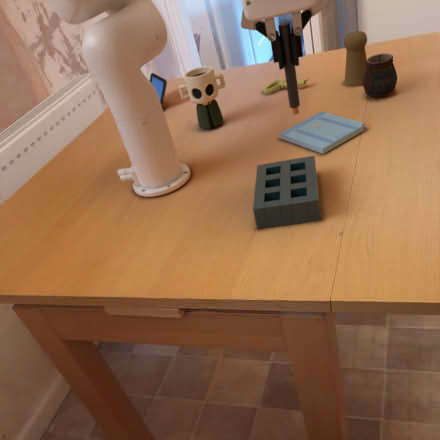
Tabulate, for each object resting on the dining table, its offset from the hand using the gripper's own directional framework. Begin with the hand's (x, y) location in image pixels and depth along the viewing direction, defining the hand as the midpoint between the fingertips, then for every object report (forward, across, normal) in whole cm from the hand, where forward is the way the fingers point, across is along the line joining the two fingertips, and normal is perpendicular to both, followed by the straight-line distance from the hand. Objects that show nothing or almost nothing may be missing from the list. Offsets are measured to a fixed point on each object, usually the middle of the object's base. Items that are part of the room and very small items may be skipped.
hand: (289, 63), depth 70 cm
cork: (+22, +14, +48) cm, 55 cm away
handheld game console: (+22, -43, +59) cm, 76 cm away
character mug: (+22, -22, +38) cm, 49 cm away
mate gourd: (+22, +18, +37) cm, 47 cm away
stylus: (+8, 0, 0) cm, 8 cm away
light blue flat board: (+22, +4, +22) cm, 31 cm away
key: (+22, -4, +53) cm, 58 cm away
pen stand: (+22, -3, -2) cm, 22 cm away
